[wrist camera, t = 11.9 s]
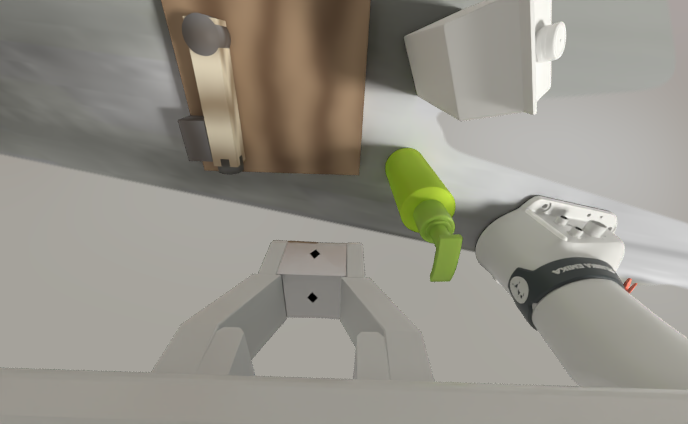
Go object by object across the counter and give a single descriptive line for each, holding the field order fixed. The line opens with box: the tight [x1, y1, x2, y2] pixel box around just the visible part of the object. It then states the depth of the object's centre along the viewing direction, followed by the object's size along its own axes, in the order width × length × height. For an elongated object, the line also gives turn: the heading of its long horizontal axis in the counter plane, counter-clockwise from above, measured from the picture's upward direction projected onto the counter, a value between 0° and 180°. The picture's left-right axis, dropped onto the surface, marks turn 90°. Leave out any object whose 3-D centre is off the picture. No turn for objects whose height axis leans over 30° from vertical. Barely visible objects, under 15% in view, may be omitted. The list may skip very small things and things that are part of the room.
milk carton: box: [404, 0, 566, 121], centre depth 24 cm, size 7×7×19 cm
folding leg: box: [182, 13, 245, 174], centre depth 31 cm, size 17×4×3 cm, turn 177°
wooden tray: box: [161, 0, 371, 175], centre depth 32 cm, size 22×20×6 cm
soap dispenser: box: [385, 148, 463, 282], centre depth 31 cm, size 6×7×20 cm
